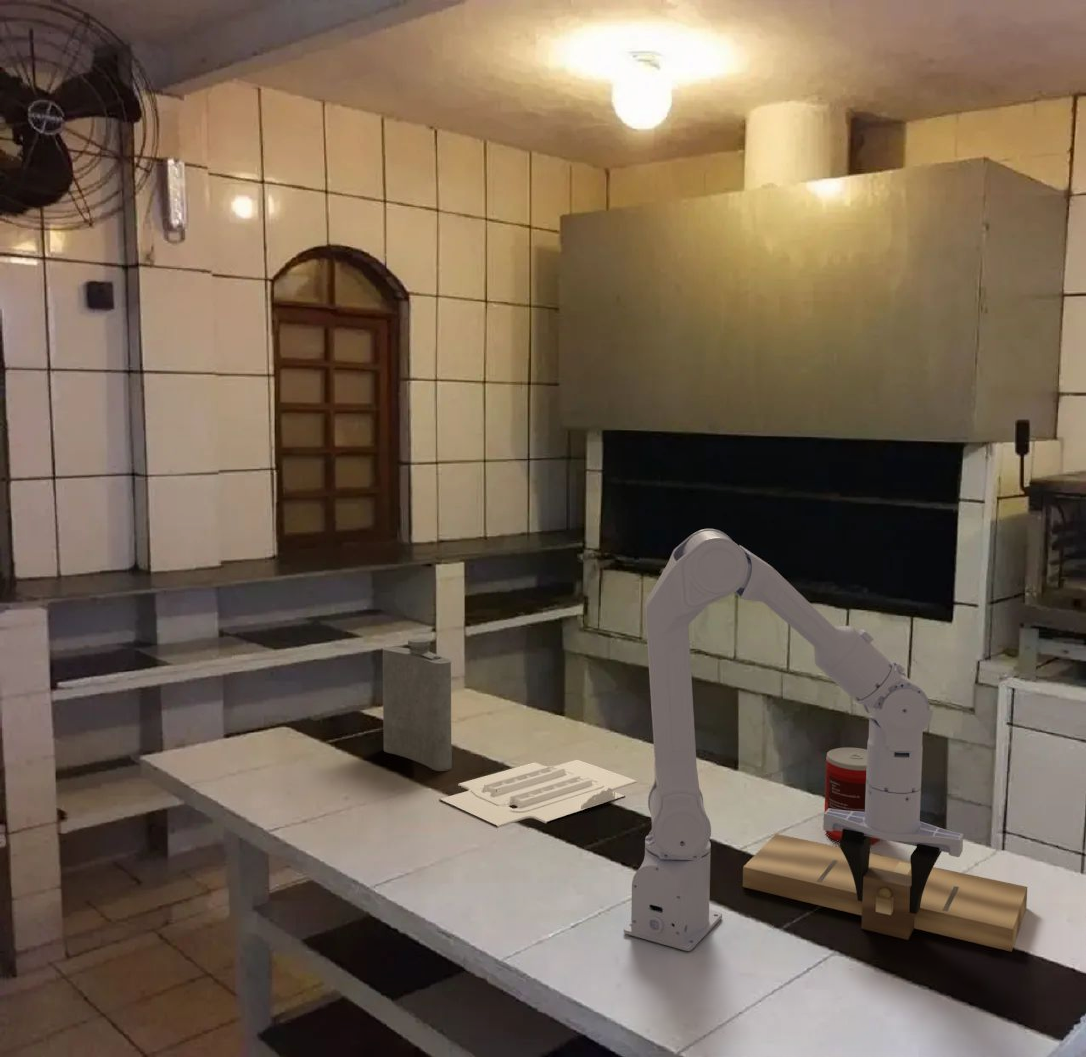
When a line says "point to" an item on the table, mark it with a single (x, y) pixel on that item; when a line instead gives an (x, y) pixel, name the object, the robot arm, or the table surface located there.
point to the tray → (538, 792)
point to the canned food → (845, 783)
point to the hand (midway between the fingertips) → (888, 903)
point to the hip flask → (417, 704)
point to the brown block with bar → (888, 901)
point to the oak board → (947, 897)
